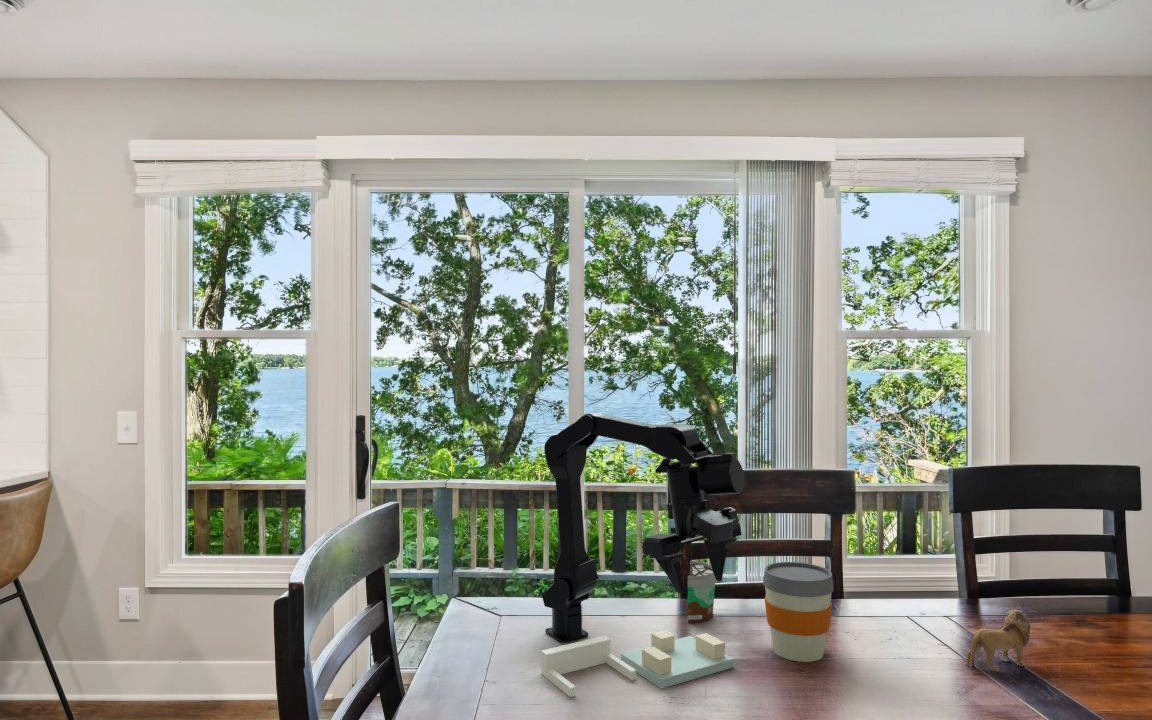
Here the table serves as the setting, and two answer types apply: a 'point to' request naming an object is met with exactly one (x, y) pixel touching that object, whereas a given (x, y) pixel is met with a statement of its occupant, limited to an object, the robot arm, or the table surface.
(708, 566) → the food container
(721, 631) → the table surface
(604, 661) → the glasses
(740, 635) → the table surface
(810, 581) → the reusable coffee cup
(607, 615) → the table surface
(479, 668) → the table surface
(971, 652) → the lion figurine
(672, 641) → the display stand
